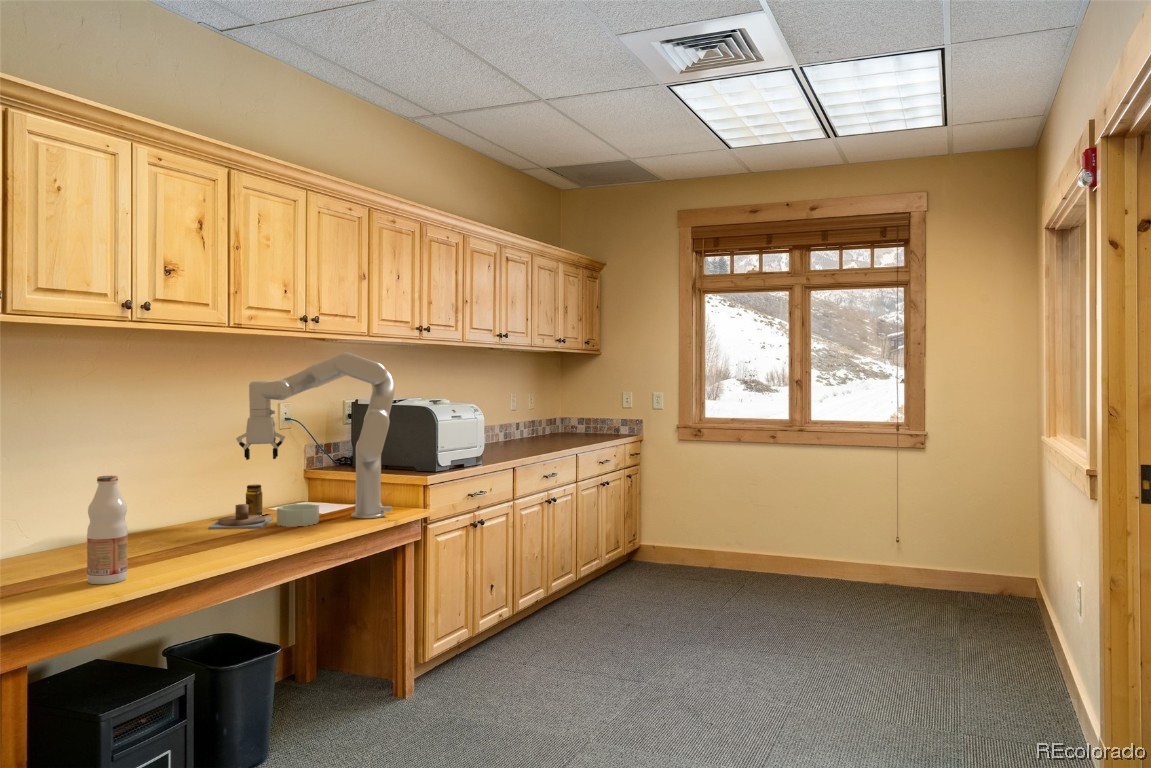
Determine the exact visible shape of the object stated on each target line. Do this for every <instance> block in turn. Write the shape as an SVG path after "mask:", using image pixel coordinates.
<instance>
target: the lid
mask: <svg viewBox="0 0 1151 768" xmlns="http://www.w3.org/2000/svg"><path fill="white" fill-rule="evenodd" d="M265 517H266V516H265V515H264V516H260V515H248V504H246V503H242V504H241V503H240V504H235V515H230V516H224V517H220V518H218V519H217V521H218V524H220V525H225V526H246V525H254V524H259V523H263V522H265Z"/></svg>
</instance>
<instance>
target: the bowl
mask: <svg viewBox="0 0 1151 768" xmlns="http://www.w3.org/2000/svg"><path fill="white" fill-rule="evenodd" d="M319 522H320V505H318V504H313V503H293V504H285V505H284V504H283V505H280V506H279V507H277V508H276V525H277V526H280V525H281V527H285V526H286V527H285V528H292V527H293V528H295V527H297V526H304V527H309V526H308V525H310V526H314V525H313V524H316V525H317V524H318V523H319Z"/></svg>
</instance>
